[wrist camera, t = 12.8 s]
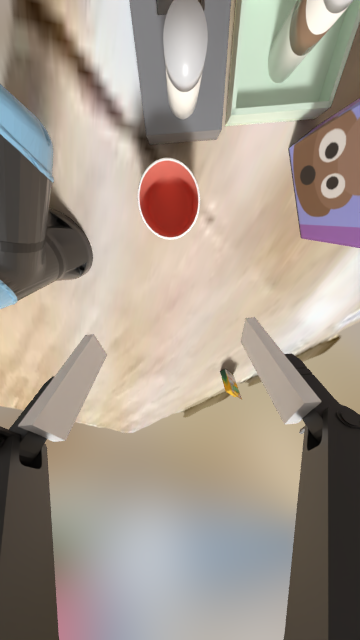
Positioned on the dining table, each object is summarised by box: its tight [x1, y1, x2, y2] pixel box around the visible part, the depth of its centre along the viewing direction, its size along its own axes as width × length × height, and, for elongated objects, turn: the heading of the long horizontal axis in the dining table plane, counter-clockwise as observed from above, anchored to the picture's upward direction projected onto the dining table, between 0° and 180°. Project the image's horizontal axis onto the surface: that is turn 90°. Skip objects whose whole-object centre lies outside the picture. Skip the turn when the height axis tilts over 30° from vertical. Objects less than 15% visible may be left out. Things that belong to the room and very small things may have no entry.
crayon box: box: [220, 369, 242, 399], centre depth 63 cm, size 7×3×12 cm, turn 45°
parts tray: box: [225, 0, 360, 126], centre depth 20 cm, size 15×11×3 cm
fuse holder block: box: [129, 0, 231, 145], centre depth 16 cm, size 12×16×11 cm
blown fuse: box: [268, 0, 354, 83], centre depth 16 cm, size 4×4×11 cm
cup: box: [138, 158, 200, 239], centre depth 27 cm, size 10×10×10 cm
